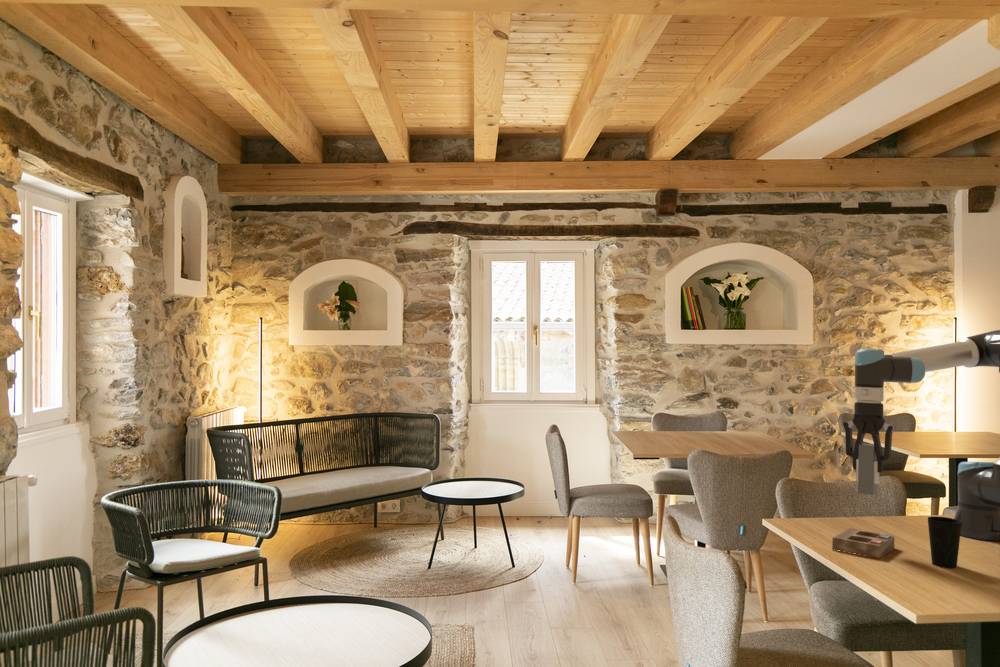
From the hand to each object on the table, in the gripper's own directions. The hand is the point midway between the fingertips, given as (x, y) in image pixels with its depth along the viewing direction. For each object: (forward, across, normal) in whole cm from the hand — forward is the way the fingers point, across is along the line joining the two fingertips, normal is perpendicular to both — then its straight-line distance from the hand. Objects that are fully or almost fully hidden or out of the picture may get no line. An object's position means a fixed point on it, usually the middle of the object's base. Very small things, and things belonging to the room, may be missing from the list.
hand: (867, 482), depth 204 cm
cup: (+19, +20, -5) cm, 28 cm away
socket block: (+19, 0, -4) cm, 19 cm away
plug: (+3, 0, 0) cm, 3 cm away
